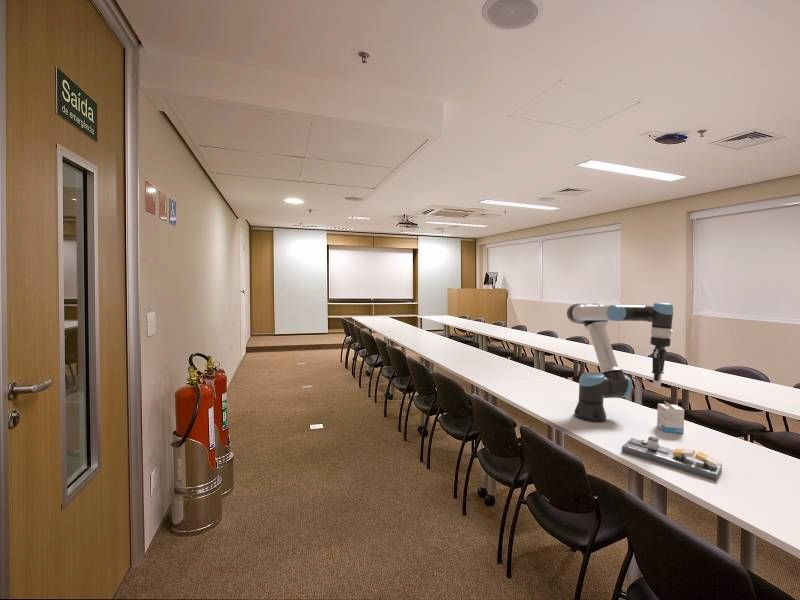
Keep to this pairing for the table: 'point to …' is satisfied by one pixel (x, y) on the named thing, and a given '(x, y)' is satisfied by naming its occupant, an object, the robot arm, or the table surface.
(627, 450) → the console
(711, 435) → the table surface
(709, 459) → the rocker
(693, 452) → the rocker
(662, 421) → the ink box
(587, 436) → the table surface
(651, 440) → the slider
